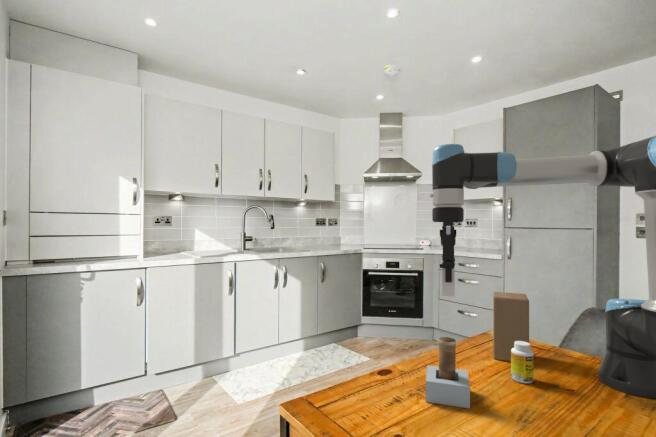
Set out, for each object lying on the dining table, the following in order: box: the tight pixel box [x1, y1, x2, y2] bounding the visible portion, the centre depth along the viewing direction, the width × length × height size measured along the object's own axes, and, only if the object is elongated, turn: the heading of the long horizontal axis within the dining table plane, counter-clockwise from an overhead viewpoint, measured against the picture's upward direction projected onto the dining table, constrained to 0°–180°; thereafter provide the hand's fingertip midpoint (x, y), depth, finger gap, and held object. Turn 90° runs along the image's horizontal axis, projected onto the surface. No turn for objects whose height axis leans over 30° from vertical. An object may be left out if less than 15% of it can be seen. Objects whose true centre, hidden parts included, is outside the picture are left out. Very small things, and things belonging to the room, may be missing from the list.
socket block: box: [425, 364, 471, 409], centre depth 89 cm, size 10×10×5 cm
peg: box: [438, 336, 457, 381], centre depth 89 cm, size 4×4×14 cm
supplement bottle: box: [510, 341, 535, 385], centre depth 99 cm, size 6×6×10 cm
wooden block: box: [492, 291, 530, 363], centre depth 116 cm, size 10×10×20 cm
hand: (447, 290), depth 90 cm, fingers open, 13 cm apart
